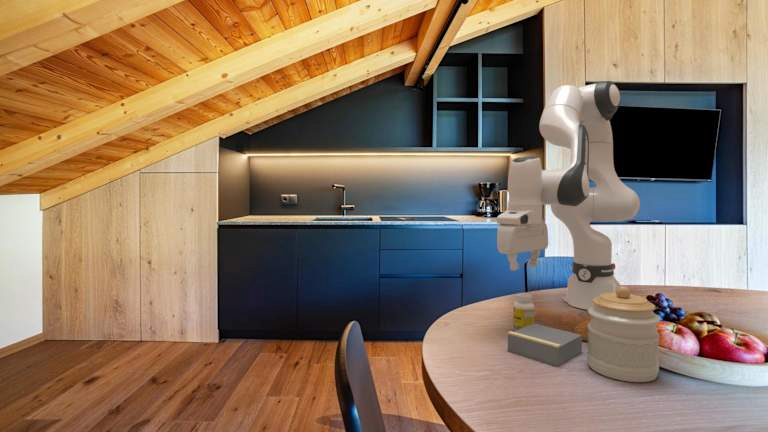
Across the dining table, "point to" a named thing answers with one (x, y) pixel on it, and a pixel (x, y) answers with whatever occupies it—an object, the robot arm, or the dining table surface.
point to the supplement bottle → (523, 311)
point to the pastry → (582, 330)
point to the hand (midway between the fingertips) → (524, 268)
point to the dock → (545, 343)
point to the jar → (623, 337)
